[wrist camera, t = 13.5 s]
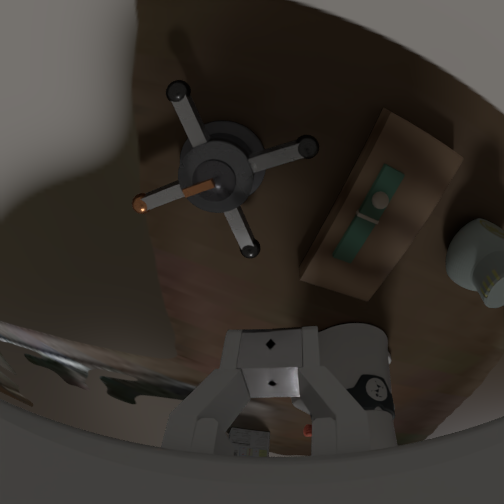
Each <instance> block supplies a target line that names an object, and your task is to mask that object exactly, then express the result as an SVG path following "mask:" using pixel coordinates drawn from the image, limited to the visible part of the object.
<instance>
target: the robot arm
mask: <svg viewBox="0 0 504 504" xmlns="http://www.w3.org/2000/svg"><path fill="white" fill-rule="evenodd" d="M390 362H391V355H390V353H389V352H388V339H387V336H386V334H385V333H384V332H383V331H382V330H381V329H379V328H377V327H375V326H372V325H369V324H363V323H349V324H342V325H338V326H334V327H331V328H328V329H326V330H323V331H321V332H318V327H317V326H309V327H292V328H276V329H253V330H228V331H227V333H226V337H225V342H224V348H223V353H222V358H221V363H220V368H219V369H215V370H214V371H213V372H212V373H211V374H210V375H209V376H208V377H207V378H206V379H205V380H204V381H203V382H202V383H201V384H200V385H199V386H198V387H197V388H196V389H195V390H194V391H193V392H192V393H191V394H190V395H189V396H187V397H186V398H185V399H184V400H183V401H182V402H181V403H180V404H179V405H178V406H177V407H176V408H175V409H174V410H173V411H172V412H171V413H170V415H169V419H168V423H167V427H166V430H165V434H164V438H163V442H162V446H161V447H155V446H149V445H143V444H139V443H134V442H129V441H125V440H120V439H116V438H112V437H108V436H104V435H100V434H96V433H93V432H89V431H86V430H82V429H79V428H75V427H72V426H69V425H66V424H63V423H60V422H57V421H54V420H51V419H48V418H45V417H43V416H40V415H37V414H35V413H32V412H30V411H27V410H25V409H22V408H20V407H17V406H15V405H12V404H10V403H8V402H6V401H4V400H1V399H0V504H504V416H503V417H501V418H498V419H495V420H493V421H490V422H487V423H484V424H481V425H478V426H475V427H472V428H469V429H466V430H462V431H459V432H455V433H452V434H448V435H444V436H441V437H437V438H433V439H428V440H424V441H420V442H415V443H410V444H405V445H400V446H397V441H396V435H395V430H394V424H393V420H394V418H395V411H394V410H395V407H394V404H393V398H392V394H391V380H390V369H389V364H390ZM259 397H291V399H292V403H293V405H294V406H295V407H297V408H298V409H300V410H302V411H304V412H306V413H308V414H309V415H310V416H311V420H312V425H308V424H307V425H306V426H305V427H304V432H303V433H304V436H312V445H311V456H301V457H251V456H234V447H233V446H232V444H231V442H230V441H229V439H228V437H227V436H226V434H225V432H226V430H227V429H228V428H229V427H230V425H231V424H232V423H233V422H234V420H235V419H236V418H237V416H238V415H239V414H240V412H241V411H242V410H243V408H244V407H245V406H246V405H247V403H248V402H249V401H250V398H259Z"/></svg>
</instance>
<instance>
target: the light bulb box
mask: <svg viewBox="0 0 504 504" xmlns="http://www.w3.org/2000/svg"><path fill="white" fill-rule="evenodd" d="M228 439H229V441H230V442H231V444H232V446H233V447H234V456H251V457H269V442H270V432H264V431H255V430H247V429H240V428H233V427H232V428H231V430H230V433H229V437H228Z"/></svg>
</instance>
